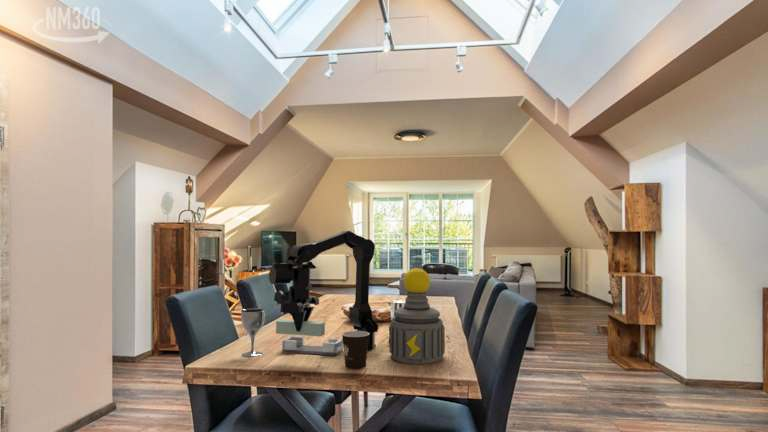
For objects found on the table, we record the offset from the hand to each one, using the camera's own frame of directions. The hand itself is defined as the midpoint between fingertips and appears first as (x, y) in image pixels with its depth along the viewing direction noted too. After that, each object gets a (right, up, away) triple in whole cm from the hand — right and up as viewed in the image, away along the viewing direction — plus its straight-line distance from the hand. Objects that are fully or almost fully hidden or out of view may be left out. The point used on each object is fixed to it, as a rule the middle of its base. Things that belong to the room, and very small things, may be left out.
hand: (300, 330), depth 139 cm
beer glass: (+34, -12, +28) cm, 45 cm away
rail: (0, -1, 0) cm, 1 cm away
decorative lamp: (+39, -10, +4) cm, 40 cm away
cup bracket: (+2, -10, +10) cm, 15 cm away
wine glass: (-18, -10, +6) cm, 22 cm away
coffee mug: (+18, -10, -5) cm, 22 cm away
